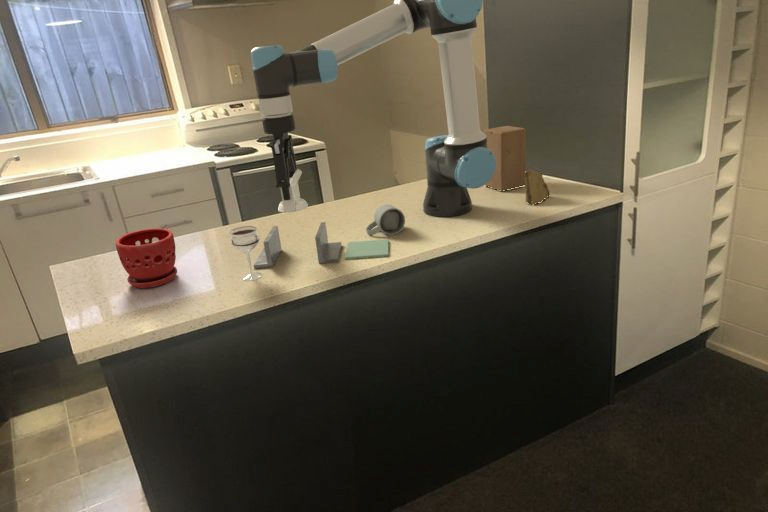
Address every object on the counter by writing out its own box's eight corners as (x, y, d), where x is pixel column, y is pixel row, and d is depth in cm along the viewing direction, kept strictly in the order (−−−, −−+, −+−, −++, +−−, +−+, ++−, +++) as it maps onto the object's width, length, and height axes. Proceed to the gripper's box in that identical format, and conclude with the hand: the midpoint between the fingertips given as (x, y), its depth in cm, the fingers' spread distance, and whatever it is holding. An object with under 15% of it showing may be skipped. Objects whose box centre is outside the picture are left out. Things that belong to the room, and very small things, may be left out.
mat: (388, 241, 146) (388, 239, 146) (388, 256, 136) (388, 254, 135) (348, 244, 146) (348, 242, 146) (345, 259, 136) (344, 257, 136)
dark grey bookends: (341, 245, 146) (338, 221, 143) (337, 262, 135) (334, 236, 132) (264, 251, 147) (260, 227, 144) (254, 268, 136) (249, 242, 133)
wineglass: (242, 271, 134) (233, 226, 130) (268, 270, 134) (260, 224, 130) (234, 283, 128) (224, 236, 124) (262, 281, 128) (253, 234, 123)
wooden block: (501, 192, 180) (501, 132, 173) (484, 186, 189) (483, 129, 181) (525, 187, 184) (526, 128, 176) (507, 181, 192) (507, 125, 185)
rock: (543, 186, 175) (515, 186, 172) (555, 168, 167) (526, 168, 165) (554, 212, 169) (525, 213, 167) (566, 195, 162) (537, 196, 160)
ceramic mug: (397, 224, 159) (395, 199, 156) (406, 232, 151) (404, 206, 148) (363, 231, 156) (360, 206, 153) (370, 239, 149) (367, 213, 146)
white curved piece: (322, 189, 130) (295, 177, 127) (300, 227, 135) (274, 216, 132) (321, 175, 136) (296, 163, 133) (300, 212, 141) (276, 201, 139)
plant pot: (127, 297, 126) (113, 249, 122) (128, 277, 137) (115, 234, 133) (185, 283, 131) (173, 237, 126) (181, 266, 142) (170, 223, 138)
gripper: (270, 111, 137) (285, 197, 146) (251, 123, 118) (270, 221, 127) (299, 108, 137) (313, 194, 145) (284, 119, 118) (301, 218, 126)
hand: (292, 206), depth 136 cm, fingers closed on white curved piece, 8 cm apart
